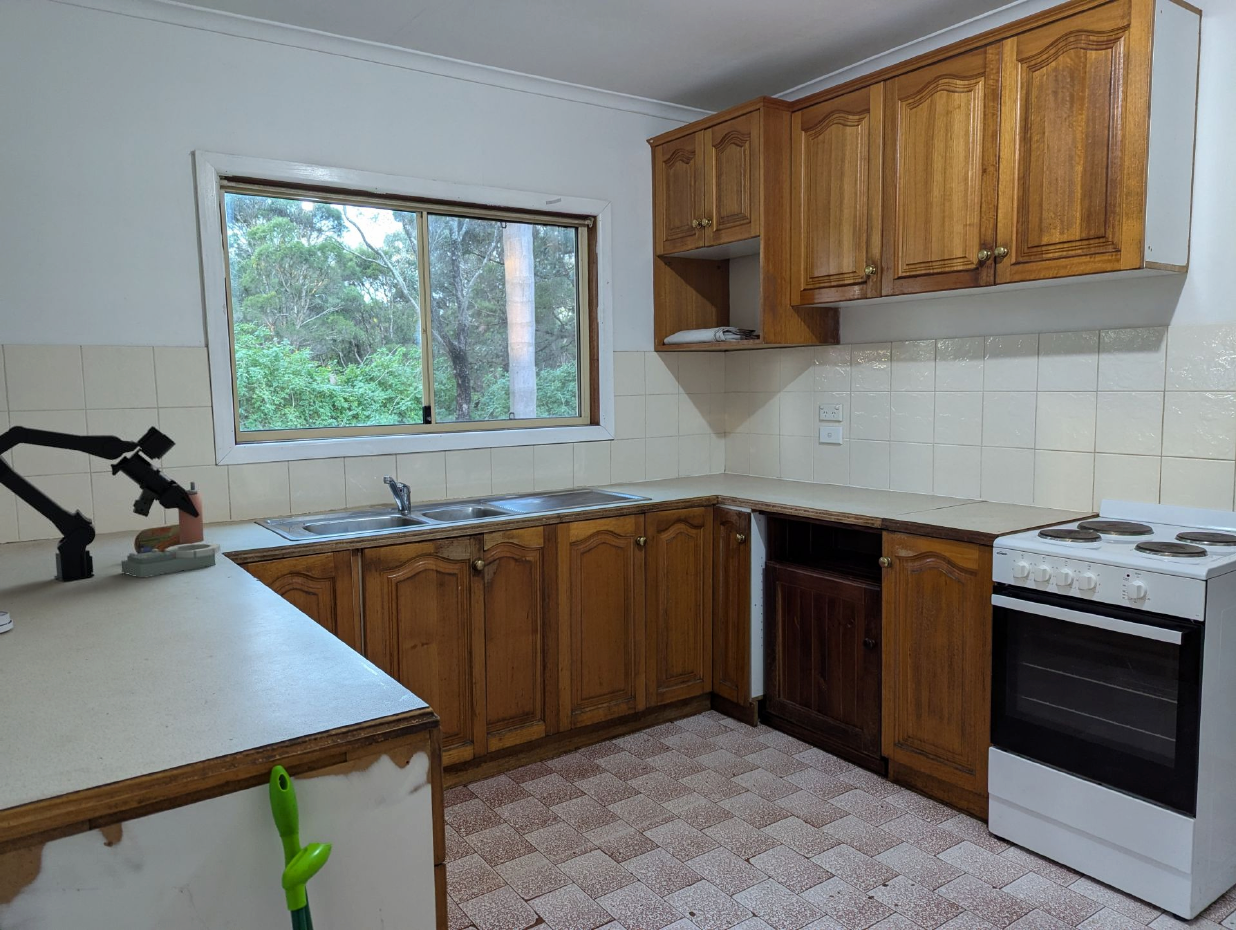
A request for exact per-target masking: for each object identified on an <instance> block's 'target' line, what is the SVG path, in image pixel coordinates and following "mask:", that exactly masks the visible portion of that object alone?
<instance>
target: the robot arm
mask: <svg viewBox="0 0 1236 930" xmlns="http://www.w3.org/2000/svg"><path fill="white" fill-rule="evenodd" d="M19 444H25V445H33V446H41V447H48V448H56V449H62V450H71V451H79V452H81V453H85V454H88V455H91V456H94V457H97V458H101V459H105V460H109V461H114V460H118V459H120V460H119V461H118V462H116V463H110V465H109V466H110V468H111V475H112V476H117V474H118V473H119V472H121V473H123V474H124V475H125V476H127V477H128V478H129V479H130V480H131V481H133V483H135V484H136V485H138V487H139V489H140V490H142V491H141V492H140V495H139V497H138V499H134V503H133V504H132V507H133V510H132V512H133V513H134V514H136V515H139V516H143V517H146V518H147V517H148V516H149V514H150V510H151V508H152V506H153V504H154V501H156V502H157V501H158V504H159V505H160V506H162V507H163V508H164V509H165V510H170V509H171V510H173V509H180V510H182V511H184V512H185V513H187V514H189V515H191V516H193V517H195V518H197V517H198V516H199V513H198V511H197V509H196V508H195V506H194V504H193V502H192V501H191V499H190V497H189V495H188V494H187V492H186V490H187V489H185V488H183V486H182V485H180V484H179V483H178V482H177V481H175V479H173V478H171V477H168V476H167V475H166V474H165V473H164V472H163V471H162V470H160V469H158V467H156V466H155V465H154V464H152V463H151V462H150V461H149V460H147V459H146V458H149V459H150V460H151V461H154V460H156V459H157V460H158V461H159V460H161V459H162V458H163V457H164V456H165V455H166V454H167V453H168V452H169V451H170V450H171V449H172V448H173V447H174V446H175V445H176V444H177V443H176V442H175V441H174V440H173V439H172V438H170V437H169V436H168V435H167V434H165V433H163V432H161V431H160V430H159V429H158V428H156V427H155V426H153V425H152V426H150V427H149V428H148V429H147V430H146V432H145V433H144V434H143V435H142V436H141V437H140V438H139V439H138V440H137V441H134V440H122V439H121V438H120V437H119V436H117V435H113V434H94V435H93V434H92V435H90V434H89V435H88V434H87V435H85V434H84V435H83V434H82V435H80V434H73V433H66V432H59V431H53V430H45V429H38V428H32V427H26V426H23V425H14V426H12V427H10V428H9V429H8V430H7V431H5V432H4V433H2V434H0V484H1V485H3V486H4V487H5V488H7V489H8V490H10V492H12V493H13V494H15V495H16V496H18V497H19V499H21V500H22V501H24V502H25V503H26V504H28V505H29V506H31V508H33V509H34V510H35V511H37V512H38V513H39V514H41V515H42V516H44V517H45V518H46V519H47V520H49V521H50V522H51V523H52V524H53V525H54V526H55V528H56V529H57V530H58V531H59V533H60V534H62V536H63V537H62V538H61V539H60V540H59V541H58V542H57V544H56V545H57V546H56V549H57V551H58V552H55V553H54V554H55V567H56V575H53V576H54V577H53V578H54V579H56V580H60V581H63V582H67V581H68V582H69V581H73V580H74V579H75V580H81V579H85V578H86V577H87V578H92V577H95V573H94V561H93V559H94V558H93V556H92V555H91V553H90V550H89V549H87V547H88V546H89V545H90V544H92V543H93V542H94V541H95V538H96V529H95V526H94V524H93V519H92V518H89V517H87V516H85V515H84V514H83V512H81V511H80V509H78V508H77V509H76V510H75V511H74V512H72V511H69V510H67V509H65V508H64V507H62V506H61V505H60V504H59V503H58V502H56V501H55V500H54V499H52V498H51V497H50V496H48V495H46V494H45V493H44V492H43V491H42V490H40V489H39V488H38V487H37V486H35V485H34V484H33V483H31V482H30V481H29V480H27V479H26V478H25V477H24V476H22V475H21V474H19V472H17V471H16V470H15V469H13V467H12V465H10V464H9V463H8V461H7V460H6V459H5V458H4V457H3V454H4V453H6V452H8V451H10V450H12V449H13V448H14V447H16V446H17V445H19ZM135 450H136V451H135ZM131 452H132V454H131V455H130V456H129V457H128V456H127V455H124V454H126V453H127V454H128V453H131ZM140 452H141V453H142V454H144V455H145V456H146V458H145V457H143V456H142V454H140ZM123 455H124V456H123ZM121 457H122V458H121ZM87 578H86V579H87Z"/></svg>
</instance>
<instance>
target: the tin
mask: <svg viewBox="0 0 1236 930" xmlns="http://www.w3.org/2000/svg"><path fill="white" fill-rule="evenodd" d="M133 544H134V545H133V547H134V550H135V553H136V554H142V553H148V552H152V550H153V549H158V551H159V552H163V553H165V549H167V548H169V547H173V546H177V545H183V544H192V543H180V534H179V523H178V524H170V525H163V526H157V527H151V528H145V529H142V530H141V531H140V532H139V533H138V534H136V536H135V539H134V543H133Z"/></svg>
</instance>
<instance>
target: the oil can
mask: <svg viewBox="0 0 1236 930" xmlns="http://www.w3.org/2000/svg"><path fill="white" fill-rule="evenodd" d="M195 484H196V482H195V481H191V482H190V489H185V490H186V492H187V494H188V495H189V497H190V499H191V501H192V502H193V504H194V506H195V508H196V509H197V511H198V513H199V516H198V517H197V518H195V517H193V516H191V515H189V514H187V513H185V512H184V511H182V510H180V509H178V511H177V512H178V524H179V534H180V543H203V542H205V539H204V521H203V520H204V517H203V516H204V515H203V495H202V493H201V492H198V490H197V489H196V485H195Z"/></svg>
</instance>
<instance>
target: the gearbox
mask: <svg viewBox="0 0 1236 930" xmlns="http://www.w3.org/2000/svg"><path fill="white" fill-rule="evenodd" d="M219 552H221V544H219V543H214V542H210V543H209V542H197V543H192V544H183V545H177V546H173V547H169V548H167V549H165V553H163V552H159V551H158V549H153V550H152V552H148V553H142V554H137V553H136V552H129V553H128V555H127V556H126V557H127V559H125V560H120V562H121V573H122V572H124V573H129V574H131V575H136V576H138V577H137V578H139V577H145V578H147V577H146V576H150V575H156V576H159V575H158V574H162V573H167V574H171V573H170V572H173V573H177V572H178V571H179V572H182V571H181V570H184V571H189V570H188V569H190V570H194V569H193V568H196V569H200V568H206V567H205V566H207V567H211V565H213V566H215V565H216V554H217V553H219ZM124 573H123V574H124ZM131 575H130V576H131ZM162 575H163V574H162ZM150 577H151V576H150Z"/></svg>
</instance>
